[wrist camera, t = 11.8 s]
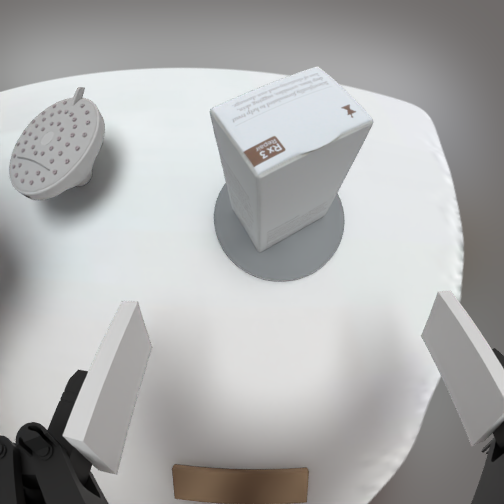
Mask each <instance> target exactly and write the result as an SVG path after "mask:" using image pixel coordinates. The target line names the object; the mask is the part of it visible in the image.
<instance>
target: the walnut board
mask: <svg viewBox="0 0 504 504" xmlns="http://www.w3.org/2000/svg"><path fill="white" fill-rule="evenodd" d="M172 473H173V485H174V495H175V499H182V500H190V501H199V502H211V503H225V504H289V503H304V502H307V490H308V475H309V471H308V469H307V468H293V469H221V468H206V467H195V466H185V465H177V464H175V465H174V466H173V467H172Z"/></svg>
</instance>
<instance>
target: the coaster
mask: <svg viewBox="0 0 504 504" xmlns="http://www.w3.org/2000/svg"><path fill="white" fill-rule="evenodd" d="M214 225H215V231H216V234H217V237H218V240H219V242H220V244H221V246H222V248H223V250H224V251H225V253H226V254H227V256H228V257H229V258H230V259H231V260H232V262H233V263H235V264H236V265H237V266H238V267H239V268H241V269H242V270H244V271H245V272H247V273H249V274H251V275H253V276H255V277H258V278H261V279H265V280H270V281H291V280H296V279H300V278H303V277H306V276H308V275H310V274H312V273H314V272H315V271H317V270H318V269H320V268H321V267H322V266H323V265H324V264H325V263H327V262H328V260H329V259H330V258H331V257H332V256H333V254H334V253H335V251H336V250H337V248H338V246H339V244H340V241H341V239H342V235H343V231H344V211H343V206H342V203H341V200H340V198H339V196H338V194H336V196H335V198H334V200H333V202H332V204H331V205H330V207H329V209H328V211H327V213H326V214H325V216H323V217H322V218H320V219H318V220H316V221H315V222H313V223H311V224H309V225H308V226H306V227H304V228H302V229H301V230H299V231H297V232H295V233H294V234H292V235H290V236H288V237H287V238H285V239H283V240H281V241H280V242H278V243H276V244H274V245H273V246H271V247H269V248H267V249H266V250H264V251H262V252H258V251H257V249H256V247H255V245H254V244H253V242H252V240H251V239H250V237H249V235H248V233H247V232H246V230H245V228H244V227H243V225H242V223H241V222H240V220H239V219H238V217H237V215H236V214H235V212H234V211H233V209H232V206H231V202H230V198H229V193H228V189H227V185H226V183H225V185H224V186H223V188H222V190H221V191H220V193H219V196H218V198H217V201H216V205H215V211H214Z"/></svg>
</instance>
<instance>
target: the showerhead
mask: <svg viewBox="0 0 504 504" xmlns="http://www.w3.org/2000/svg"><path fill="white" fill-rule="evenodd" d="M84 89H85V88H83V87H79V88H77V90H76V92H75V94H74V97H73V98H69V99H65V100H62V101H59V102H57V103H55V104H53V105H52V106H50V107H48V108H47V109H45V110H44V111H43V112H41V113H40V114H39V115H38V116H37V117H36V118H35V119H34V120H33V121H32V122H31V123H30V124H29V125H28V126H27V127H26V129H25V130H24V131H23V133H22V135H21V136H20V138H19V139H18V141H17V143H16V145H15V147H14V150H13V152H12V156H11V160H10V166H9V174H10V180H11V183H12V185H13V187H14V188H15V189H16V190H17V191H18V192H20V193H21V194H23V195H24V196H26V197H28V198H30V199H33V200H46V199H50V198H52V197H55V196H57V195H59V194H61V193H63V192H64V191H66V190H67V189H70V188H73V187H75V186H83V185H85V184H87V183H88V182H89V180H90V179H91V177H92V167H93V164H94V160H95V158H96V156H97V155H98V153H99V150H100V148H101V146H102V142H103V139H104V133H105V124H104V120H103V117H102V116H101V114H100V112H99V110H98V108H97V106H96V105H95V104H94V103H93V102H92V101H91V100H89V99H86V98H82V96H83V93H84Z"/></svg>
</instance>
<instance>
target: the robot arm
mask: <svg viewBox="0 0 504 504" xmlns="http://www.w3.org/2000/svg"><path fill="white" fill-rule="evenodd" d="M421 337H422V339H423V341H424V342H425V344H426V346H427V348H428V350H429V352H430V354H431V356H432V358H433V360H434V362H435V364H436V366H437V368H438V370H439V372H440V374H441V376H442V378H443V380H444V383H445V385H446V387H447V389H448V391H449V394H450V396H451V398H452V400H453V402H454V405H455V407H456V409H457V412H458V414H459V416H460V419H461V421H462V423H463V426H464V428H465V431H466V433H467V436H468V438H469V441H470V443H471V446H473V445H475V444H478V443H480V442H483V441H485V440H486V439H487V438H488V437H489V436H490V435H491V434H492V433H493V434H494V438H493V440H491V441H490V442H489V443H488V444H487V445H486V446H485V447H484V448H483V450H482V452H484V451H486V450H487V449H488V448H489V447H490V448H489V451H488V452H487V453H486V454H488V455H487V459H486V462H485V466H484V469H483V472H482V475H481V478H480V481H479V484H478V487H477V490H476V492H475V495H474V498H473V500H472V503H471V504H504V356H503V355H502V354H501V353H500V352H499V351H497V350H496V349H495V348H494V349H491V348H490V346H489V345H488V343H487V342H486V340H485V338H484V337H483V335H482V334H481V332H480V331H479V329H478V328H477V327H476V325H475V324H474V322H473V321H472V319H471V318H470V316H469V315H468V314H467V312H466V311H465V309H464V308H463V307H462V305H461V304H460V303H459V301H458V300H457V298H456V297H455V296H454V294H453V293H452V292H451V291H441V292H438V293H437V296H436V299H435V302H434V304H433V307H432V310H431V312H430V315H429V318H428V320H427V323H426V325H425V328H424V330H423V333H422V335H421ZM151 350H152V345H151V342H150V339H149V336H148V333H147V330H146V326H145V323H144V320H143V317H142V314H141V310H140V307H139V303H138V302H135V301H122V302H121V304H120V306H119V308H118V310H117V312H116V314H115V316H114V318H113V320H112V322H111V324H110V326H109V328H108V330H107V332H106V334H105V336H104V338H103V340H102V343H101V345H100V347H99V349H98V351H97V353H96V355H95V358H94V360H93V362H92V364H91V367H90V369H89V371H82V370H78V371H77V372H76V373H75V374H74V375H73V376H72V377H71V378H70V379H69V381H68V383H67V385H66V388H65V392H63V394H62V397H61V401H59V404H58V406H57V408H56V411H55V413H54V415H53V418H52V420H51V423H50V425H49V428H48V430H46V429H45V428H44V427H43V426H42V425H41V424H39V423H35V422H31V423H27V424H25V425H24V426H22V427H21V428H20V430H19V431H18V433H17V436H16V443H12V442H11V441H10V440H9V439H8V438H6V437H5V436H0V504H108V502H107V500H106V498H105V497H104V495H103V493H102V491H101V489H100V488H99V486H98V484H97V482H96V480H95V478H94V476H93V474H92V473H91V472H90V470H91V466H92V465H93V466H94V467H96V468H97V469H98V470H100V471H104V472H108V473H112V474H117V473H118V469H119V464H120V460H121V456H122V452H123V448H124V444H125V440H126V436H127V432H128V429H129V425H130V421H131V417H132V414H133V410H134V407H135V403H136V399H137V396H138V393H139V389H140V386H141V382H142V379H143V376H144V372H145V369H146V366H147V362H148V359H149V356H150V353H151Z"/></svg>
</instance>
